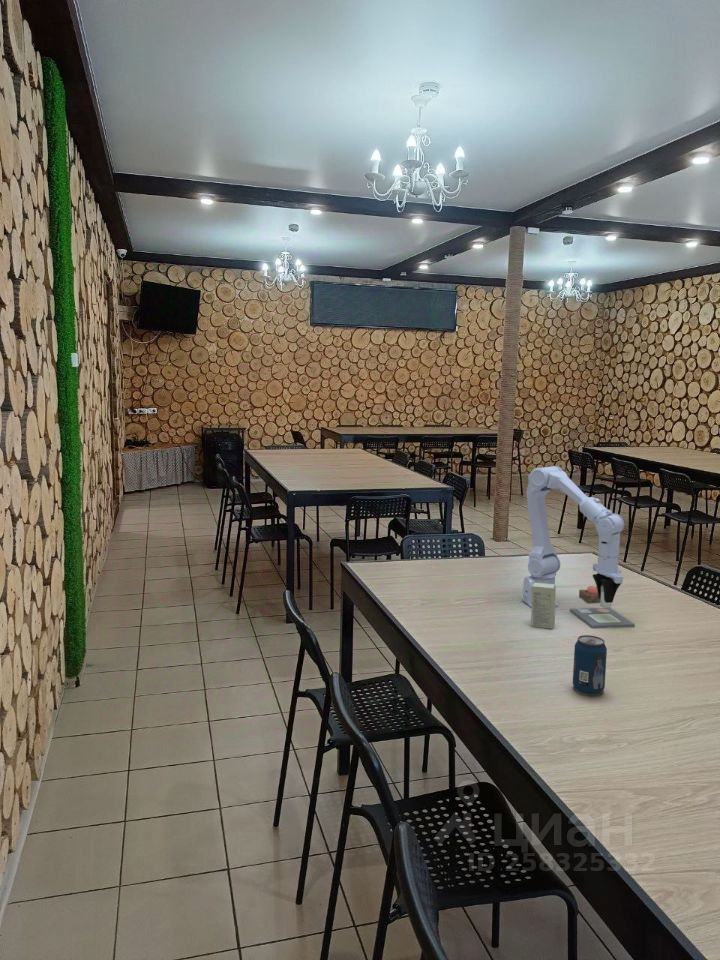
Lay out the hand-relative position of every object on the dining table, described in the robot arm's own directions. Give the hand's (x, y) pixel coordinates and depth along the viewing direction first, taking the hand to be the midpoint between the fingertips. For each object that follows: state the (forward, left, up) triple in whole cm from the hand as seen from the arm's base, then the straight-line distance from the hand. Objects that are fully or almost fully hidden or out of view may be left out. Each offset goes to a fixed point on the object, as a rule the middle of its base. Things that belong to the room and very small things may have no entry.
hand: (605, 600), depth 199 cm
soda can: (-26, -44, -7) cm, 52 cm away
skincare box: (-20, -2, -7) cm, 21 cm away
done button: (+6, +20, -6) cm, 22 cm away
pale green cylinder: (0, 0, -2) cm, 2 cm away
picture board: (0, +2, -6) cm, 7 cm away
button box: (+6, +20, -6) cm, 22 cm away
